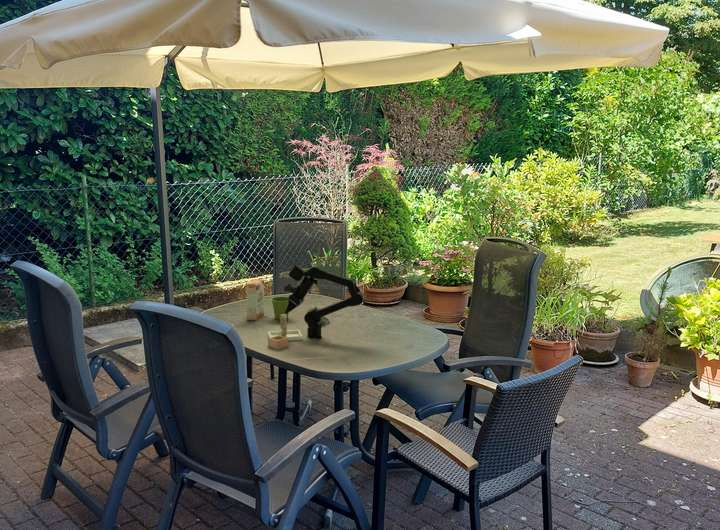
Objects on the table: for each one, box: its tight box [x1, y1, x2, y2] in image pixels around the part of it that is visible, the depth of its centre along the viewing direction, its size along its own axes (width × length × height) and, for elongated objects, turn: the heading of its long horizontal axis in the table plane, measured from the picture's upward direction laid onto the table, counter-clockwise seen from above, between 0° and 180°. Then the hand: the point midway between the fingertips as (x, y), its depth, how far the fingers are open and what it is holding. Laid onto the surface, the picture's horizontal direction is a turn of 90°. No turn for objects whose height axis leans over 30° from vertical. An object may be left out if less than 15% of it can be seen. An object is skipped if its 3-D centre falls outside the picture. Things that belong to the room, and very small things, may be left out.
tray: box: [267, 329, 304, 342], centre depth 310 cm, size 16×12×2 cm
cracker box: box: [246, 278, 265, 321], centre depth 348 cm, size 14×6×21 cm, turn 171°
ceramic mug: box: [317, 307, 331, 325], centre depth 339 cm, size 11×8×8 cm
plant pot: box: [270, 296, 290, 320], centre depth 348 cm, size 12×12×11 cm
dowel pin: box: [279, 314, 288, 337], centre depth 307 cm, size 3×3×12 cm
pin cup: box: [267, 335, 289, 350], centre depth 297 cm, size 7×7×4 cm
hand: (287, 312), depth 309 cm, fingers open, 9 cm apart
